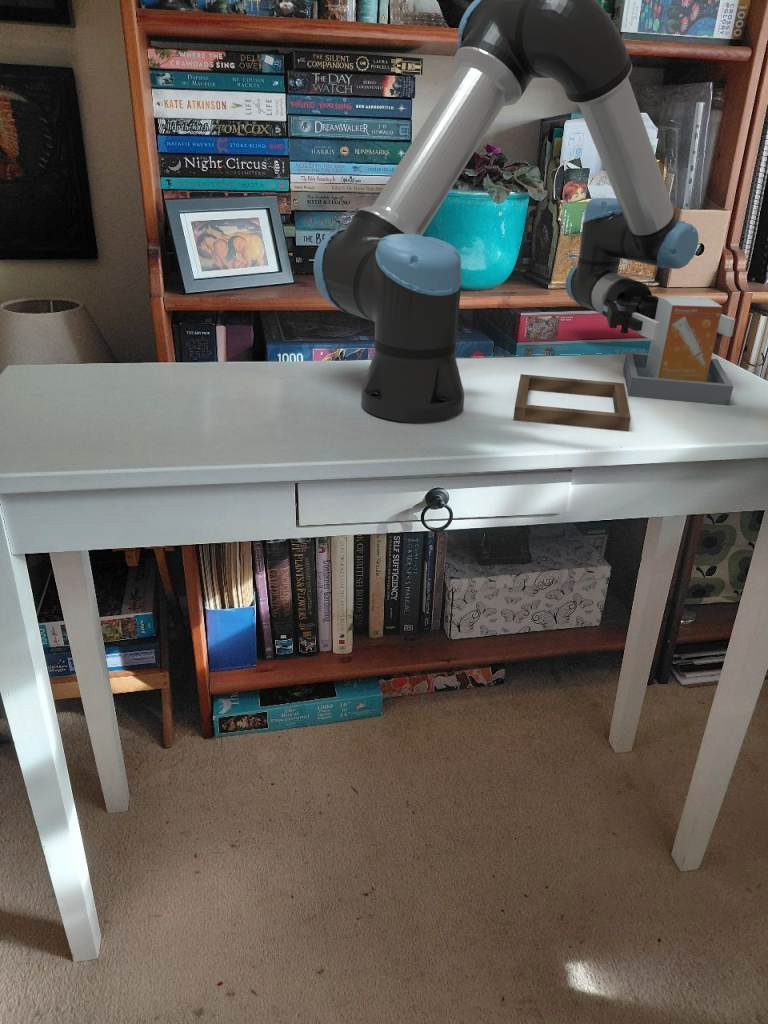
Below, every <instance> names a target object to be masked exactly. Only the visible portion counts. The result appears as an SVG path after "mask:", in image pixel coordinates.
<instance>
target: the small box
mask: <svg viewBox="0 0 768 1024" xmlns="http://www.w3.org/2000/svg"><path fill="white" fill-rule="evenodd" d="M658 298H659V300H658V305H657V311H656V316H655V321H657V322H660V326H659V332H658V337H657V340H651V339H650V344H649V348H648V353H647V354H648V359H647V365H646V370H645V375H646V376H647V377H652V378H663V379H675V380H686V381H698V382H706V379H707V375H708V370H709V366H710V362H711V359H712V357H713V352H714V349H715V348H714V347H715V344H716V339H717V334H718V332H717V331H718V326H719V322H720V317H721V314H723V313H722V312H723V306H722V305H720V304H719V303H717V302H716V301H714V300H713V299H711V298H710V297H692V296H658Z"/></svg>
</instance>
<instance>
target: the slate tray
mask: <svg viewBox="0 0 768 1024" xmlns="http://www.w3.org/2000/svg"><path fill="white" fill-rule="evenodd" d="M647 359H648V353H645V352H631V351H625V356H624V360H623V361H624V362H623V366H622V370H623V375H624V380H625V385H626V386H625V387H626V389H627V391H626V392H627V394H628V395H627V396H628V397H632V398H633V397H635V398H647V399H656V400H657V399H658V400H667V401H678V402H688V403H689V402H690V403H701V404H712V405H713V404H714V405H724V406H730V402H731V397H732V394H733V393H732V392H733V389H734V385H733V384H732V382H731V380H730V378H729V377H728V375H727V373H726V371H725V370H724V368H723V365H722V364H721V363H720V361H719V359H716V358H711V362H710V366H709V370H708V375H707V379H706V382H698V381H686V380H675V379H663V378H652V377H647V376H646V375H645V370H646V365H647Z"/></svg>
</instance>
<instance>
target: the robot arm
mask: <svg viewBox="0 0 768 1024" xmlns="http://www.w3.org/2000/svg"><path fill="white" fill-rule="evenodd" d="M457 31H458V32H457V34H458V35H459V37H458V38H459V39H458V40H457V42H456V45H457V47H456V48H457V51H456V53H455V54H454V64H455V70H456V72H455V73H454V75H453V77H452V78H451V80H450V82H449V83H448V85H447V86H446V88H445V90H444V91H443V92H442V95H441V96H440V97H439V99H438V101H437V102H436V104H435V105H434V106H433V109H432V111H431V112H430V113H429V115H428V117H427V119H426V120H425V121H424V123H423V124H422V126H421V128H420V129H419V131H418V133H417V134H416V136H415V137H414V139H413V140H412V142H411V144H410V145H409V147H408V149H407V150H406V152H405V153H404V155H403V156H402V158H401V160H400V161H399V163H398V165H397V166H396V168H395V169H394V171H393V172H392V174H391V176H390V177H389V179H388V180H387V182H386V183H385V185H384V187H383V188H382V190H381V191H380V193H379V195H378V197H377V198H376V199H375V201H374V202H373V204H372V205H371V206H366V207H361V208H359V209H357V210H356V212H355V213H354V215H353V217H351V220H350V221H349V223H348V225H347V227H346V228H341V229H337V230H336V231H332V232H331V233H329V234H327V236H326V237H324V238H323V239H322V241H321V242H320V244H319V246H318V248H317V249H316V251H315V255H314V259H313V275H314V282H315V285H316V288H317V290H318V291H319V293H320V295H321V297H323V299H324V300H325V301H326V302H328V303H329V304H330V305H332V306H334V307H336V308H338V310H339V311H341V312H343V313H347V314H348V315H349V314H350V315H354V316H357V317H359V318H362V319H365V320H368V321H369V322H373V323H374V351H373V352H374V353H373V356H372V359H371V362H370V365H369V368H368V370H367V372H366V376H365V378H364V381H363V383H362V387H361V394H360V395H361V397H360V398H361V401H360V403H361V407H362V408H363V410H365V412H367V413H370V414H371V415H373V416H376V417H378V418H381V419H386V420H388V421H389V420H390V421H395V422H403V423H434V422H441V421H447V420H449V419H452V418H454V417H457V416H459V415H460V414H461V413H462V412H463V411H464V404H465V390H464V386H463V384H462V383H463V381H462V380H461V375H460V371H459V366H458V362H457V357H456V349H457V348H456V347H457V335H458V323H459V312H460V302H461V301H460V300H461V291H462V283H463V277H462V276H463V275H462V258H461V254H460V252H459V251H458V249H457V248H455V247H454V245H453V244H451V243H449V242H447V241H444V240H441V239H439V238H436V237H432V236H423V234H424V233H425V231H426V229H428V227H429V225H430V223H431V222H432V220H433V219H434V217H435V215H436V214H437V213H438V211H439V209H440V207H441V206H442V204H443V202H444V201H445V200H446V198H447V196H448V194H449V193H450V192H451V190H452V188H453V187H454V185H455V184H456V182H457V181H458V179H459V177H460V175H461V174H462V172H463V170H464V169H465V168H466V166H467V164H468V163H469V161H470V160H471V158H472V157H473V155H474V153H475V152H476V150H477V149H478V148H479V145H480V144H481V142H482V141H483V139H484V137H485V136H486V134H487V132H488V131H489V129H490V128H491V126H492V124H493V123H494V122H495V120H496V118H497V117H498V115H499V114H500V112H501V111H502V109H503V107H506V106H512V105H516V104H517V103H518V102H520V101H519V100H520V99H521V97H522V96H523V95H524V93H525V91H526V90H527V88H528V87H529V85H530V83H531V82H532V81H533V79H540V78H541V79H542V78H543V79H544V78H545V79H546V78H547V79H548V78H551V79H553V80H555V81H556V82H557V83H558V84H559V85H561V87H562V89H563V91H564V92H565V95H566V98H567V100H568V101H569V102H570V103H571V104H574V105H578V107H579V109H580V111H581V114H582V117H583V119H584V122H585V124H586V127H587V130H588V132H589V134H590V136H591V139H592V142H593V144H594V146H595V149H596V151H597V153H598V157H599V159H600V161H601V164H602V166H603V169H604V171H605V173H606V176H607V178H608V179H607V180H608V181H609V183H610V186H611V188H612V191H613V193H614V196H615V198H611V197H608V198H607V197H595V198H591V199H590V200H589V201H587V203H586V207H585V213H584V218H583V221H582V228H581V237H580V246H579V253H578V254H579V255H578V261H577V264H576V265H574V266H573V267H572V268H571V269H570V271H568V272H569V273H568V274H567V276H566V278H565V281H564V282H565V287H564V288H565V292H566V294H567V295H568V297H569V298H570V299H573V300H572V301H574V302H575V303H576V304H578V305H579V306H582V307H584V308H587V309H589V310H592V311H594V312H596V313H598V314H601V315H602V316H604V317H606V321H607V325H608V327H609V328H610V329H616V328H618V326H621V327H620V331H619V332H620V333H621V334H629V330H630V331H631V332H634V333H636V334H638V335H641V336H642V337H645V338H647V339H649V340H650V341H651V340H657V337H658V332H659V326H660V322H657V321H655V316H656V311H657V305H658V300H659V296H657V295H653V294H652V291H651V290H650V287H648V285H646V283H643V282H642V281H638V280H636V279H634V278H631V277H629V276H626V275H623V274H619V271H620V270H619V268H620V265H621V260H623V259H624V260H627V261H632V262H636V263H641V264H646V265H650V266H654V267H657V268H666V269H675V270H679V269H682V268H684V267H686V266H687V265H688V264H689V263H690V262H691V260H692V259H694V256H695V254H696V253H697V250H698V246H699V232H698V230H697V228H696V227H695V226H694V225H693V224H691V223H689V222H686V221H685V220H682V221H681V220H680V221H679V220H678V218H677V215H676V212H675V210H674V206H673V203H672V200H671V198H670V195H669V191H668V189H667V186H666V184H665V183H666V182H665V180H664V177H663V175H662V172H661V168H660V166H659V162H658V160H657V157H656V154H655V151H654V149H653V145H652V143H651V139H650V137H649V134H648V131H647V128H646V125H645V122H644V120H643V117H642V114H641V111H640V108H639V104H638V102H637V99H636V97H635V93H634V91H633V88H632V84H631V82H630V80H629V77H630V74H631V72H632V69H633V64H632V60H631V58H630V55H629V52H628V49H627V47H626V44H625V42H624V40H623V37H622V35H621V33H620V31H619V30H618V27H617V26H616V24H615V22H614V21H613V20H612V18H611V16H610V15H609V13H608V12H607V11H606V10H605V9H604V7H603V6H602V5H601V3H599V2H598V1H597V0H473V1H472V2H471V3H470V4H469V6H468V7H467V8H466V10H465V12H464V13H463V15H462V17H461V20H460V22H459V26H458V30H457ZM735 322H736V318H733V317H731V316H727V315H725V314H723V313H721V317H720V322H719V326H718V331H717V334H720V335H723V336H726V337H733V332H734V328H735V325H736V323H735Z"/></svg>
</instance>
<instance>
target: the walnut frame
mask: <svg viewBox="0 0 768 1024" xmlns="http://www.w3.org/2000/svg"><path fill="white" fill-rule="evenodd" d="M529 391H537V392H546V393H559V394H568V395H580V396H591V397H602V398H612V404H613V409H614V412H609V411H600V410H599V411H598V410H590V409H589V410H588V409H578V408H566V407H558V406H547V405H546V406H544V405H535V404H527V402H528V394H529ZM627 396H628V395H627V391H626V386H625V383H624V382H614V381H604V380H603V381H601V380H593V379H581V378H567V377H555V376H545V375H544V376H543V375H533V374H524V373H523V374H522V373H520V375H519V381H518V387H517V392H516V398H515V403H514V409H513V411H514V412H513V417H512V418H513V421H519V422H520V421H521V422H527V423H529V422H530V423H539V424H548V425H549V424H551V425H560V426H569V427H580V428H590V429H600V430H601V429H602V430H609V431H610V430H611V431H621V432H629V430H630V423H631V412H630V408H629V401H628V397H627Z"/></svg>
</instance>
